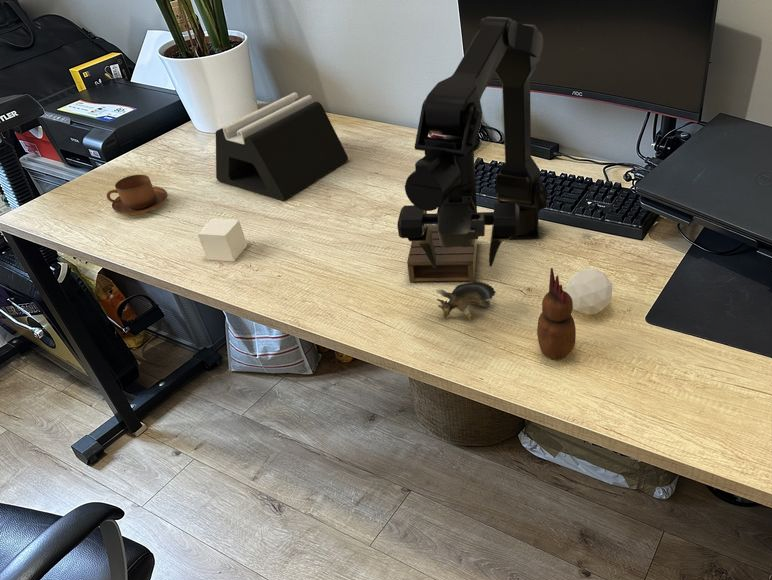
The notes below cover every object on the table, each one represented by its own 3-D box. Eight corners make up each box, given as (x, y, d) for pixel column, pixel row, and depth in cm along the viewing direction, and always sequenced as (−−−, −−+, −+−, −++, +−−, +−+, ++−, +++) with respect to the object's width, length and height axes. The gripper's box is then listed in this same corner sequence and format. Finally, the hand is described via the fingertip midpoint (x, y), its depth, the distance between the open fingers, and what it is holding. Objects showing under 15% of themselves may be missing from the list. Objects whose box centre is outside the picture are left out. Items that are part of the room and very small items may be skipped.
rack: (477, 243, 130) (476, 224, 127) (474, 281, 120) (472, 261, 117) (417, 244, 131) (415, 225, 128) (409, 282, 121) (406, 262, 118)
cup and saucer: (126, 225, 144) (114, 200, 140) (107, 207, 151) (96, 182, 147) (178, 205, 149) (168, 181, 145) (158, 189, 156) (148, 164, 152)
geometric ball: (575, 317, 115) (561, 274, 114) (620, 303, 113) (605, 259, 112) (571, 324, 108) (556, 278, 107) (619, 309, 105) (603, 262, 105)
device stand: (348, 161, 162) (337, 101, 152) (284, 201, 148) (267, 138, 138) (283, 145, 171) (268, 87, 162) (217, 181, 158) (197, 120, 148)
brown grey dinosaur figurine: (458, 330, 108) (503, 304, 110) (438, 292, 106) (484, 266, 108) (445, 327, 115) (488, 303, 117) (426, 292, 114) (469, 267, 116)
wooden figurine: (534, 339, 107) (534, 263, 97) (568, 336, 107) (573, 259, 97) (541, 367, 102) (542, 290, 92) (577, 364, 102) (583, 286, 92)
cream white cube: (221, 243, 136) (212, 218, 132) (247, 245, 135) (239, 219, 131) (206, 259, 131) (197, 233, 127) (233, 261, 130) (224, 235, 126)
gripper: (386, 206, 92) (400, 295, 102) (519, 203, 90) (519, 294, 100) (396, 170, 100) (408, 256, 110) (518, 167, 98) (519, 254, 109)
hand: (462, 265), depth 107 cm, fingers open, 9 cm apart
